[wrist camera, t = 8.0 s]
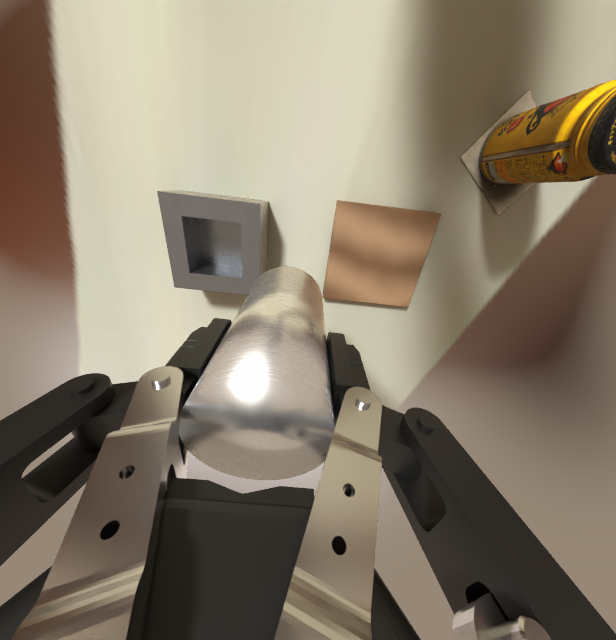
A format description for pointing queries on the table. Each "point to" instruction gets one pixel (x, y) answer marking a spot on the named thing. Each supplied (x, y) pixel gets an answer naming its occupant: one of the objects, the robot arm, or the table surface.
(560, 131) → the condiment
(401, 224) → the board
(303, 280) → the plug
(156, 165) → the table surface
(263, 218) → the housing
